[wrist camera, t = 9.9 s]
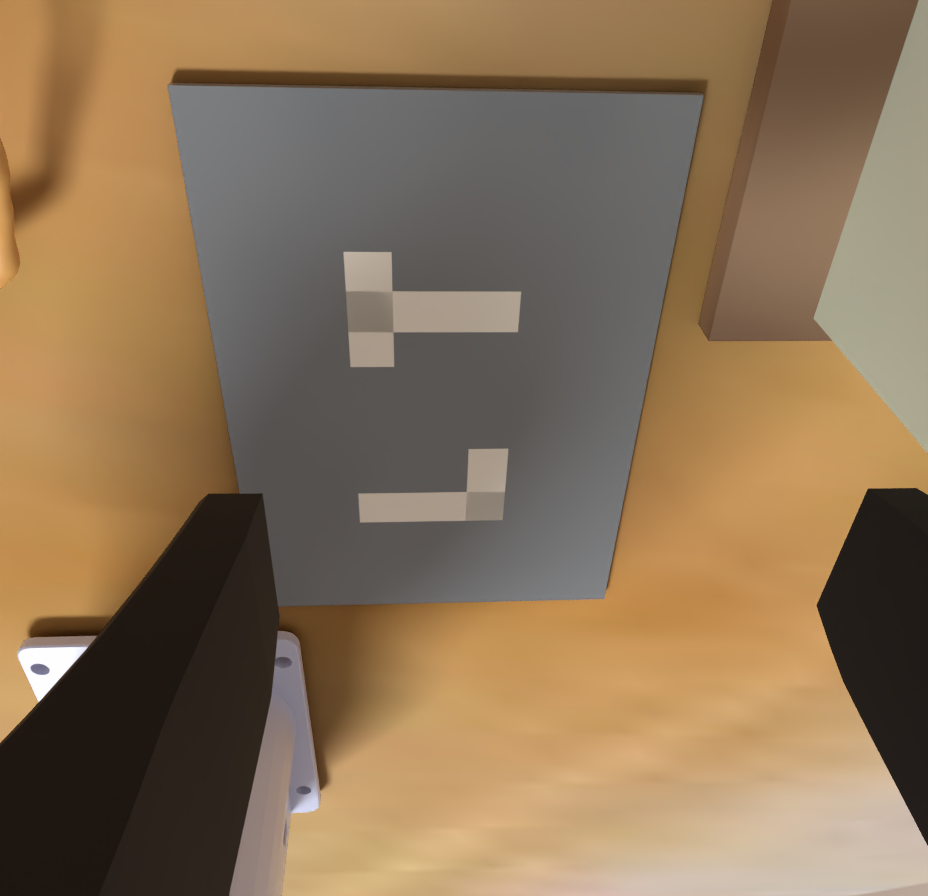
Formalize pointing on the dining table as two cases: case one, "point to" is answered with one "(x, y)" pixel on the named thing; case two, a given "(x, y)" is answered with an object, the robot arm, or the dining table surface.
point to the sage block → (889, 249)
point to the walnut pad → (800, 163)
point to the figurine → (6, 225)
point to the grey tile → (434, 324)
